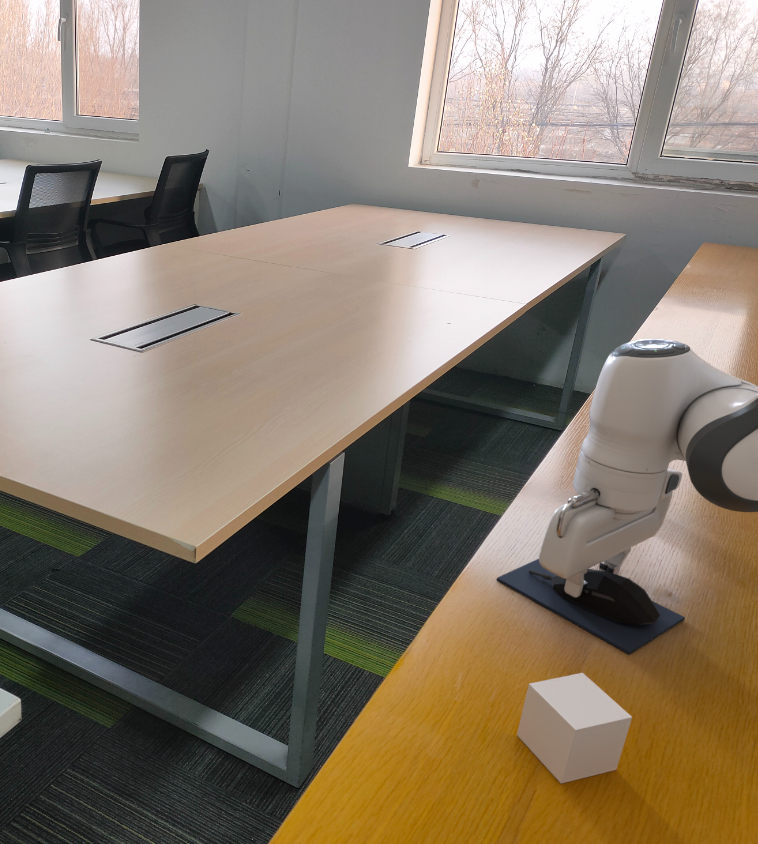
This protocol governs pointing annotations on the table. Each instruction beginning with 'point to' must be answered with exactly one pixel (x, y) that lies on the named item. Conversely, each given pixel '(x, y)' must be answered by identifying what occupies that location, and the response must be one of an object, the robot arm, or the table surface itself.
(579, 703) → the white cube
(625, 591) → the gaming mouse
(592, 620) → the mouse pad
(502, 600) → the table surface
